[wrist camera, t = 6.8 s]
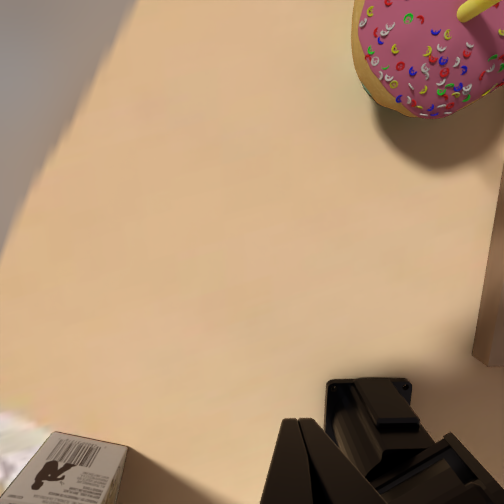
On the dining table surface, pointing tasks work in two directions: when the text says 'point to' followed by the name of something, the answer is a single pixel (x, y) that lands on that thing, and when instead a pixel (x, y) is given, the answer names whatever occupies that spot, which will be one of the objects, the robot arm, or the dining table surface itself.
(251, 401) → the dining table surface
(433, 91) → the cupcake
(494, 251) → the base
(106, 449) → the coffee box
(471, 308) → the dining table surface
